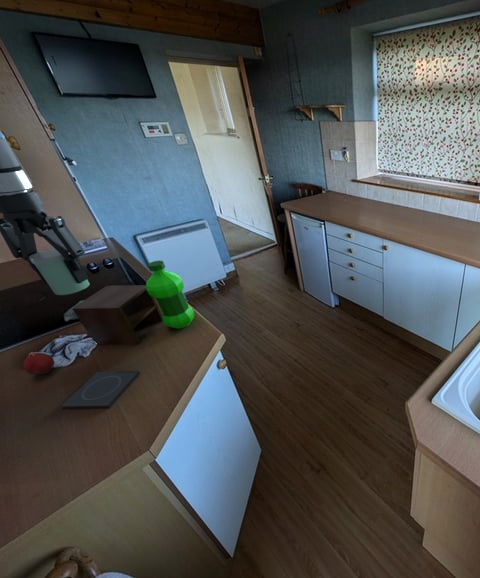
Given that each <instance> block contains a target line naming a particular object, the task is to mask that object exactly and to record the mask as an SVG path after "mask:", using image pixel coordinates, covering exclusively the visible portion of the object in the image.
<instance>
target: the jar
mask: <svg viewBox="0 0 480 578" xmlns="http://www.w3.org/2000/svg"><path fill="white" fill-rule="evenodd" d="M69 254H70V253H69ZM29 259H30V260H31V262H32V263H33V264H35V266H36V267H37V269H38V270H39V272H40V273H41V275H42V276H43V278H44V279H45V281H46V282H47V283H48V284H47V286H49V288H50V290H51V291H52V292H53V294H54V295H56V296H67V295H72V294H75V293H78V292H81V291H83V290H85V289H87V288H88V287H89V286H90V285H91V284H90V282H89V279H87V280H85V281H83V282H82V283H77V282H76V281H75V279H74V278H73V276H72V274H71V273H70V271H69V269H68V268H67V266H66V265H65V263H64V260H65V259H66V258H64V257H63V256H62V255H61V254H60V253H59V252H58V251H57V250H56V249H55V248H54V247H52V248H48V249H44V250H42V251H37V253H35V254H33V255H31V256H30V257H29Z"/></svg>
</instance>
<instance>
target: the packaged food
mask: <svg viewBox="0 0 480 578" xmlns="http://www.w3.org/2000/svg"><path fill="white" fill-rule="evenodd" d="M84 300H85V299H83V300H80V301H78V303H76V304H75V305H74V306H72V307H71V308H69V309H68V310H67V311H66V312H65V313H64V314H63V319H64V321H65V322H69V321H70V320H79V318H78V317H77V315H76V314H75V312H74V311H73V309H72V308H74V307H75V306H77V305H78V304H80V303H81V302H83V301H84Z"/></svg>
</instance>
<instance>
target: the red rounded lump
mask: <svg viewBox="0 0 480 578" xmlns="http://www.w3.org/2000/svg"><path fill="white" fill-rule="evenodd" d="M54 365H55V360H54V357H53V356H51V355H50V354H48V353H44V352H30V353H29V354H28V355H27V357H26V358H25V359H24V361H23V363H22V366H23V369H24V371H25V372H27V373H28V374H32V375H46V374H48V373H49V372H50V371H51V370H52V368H53V367H54Z"/></svg>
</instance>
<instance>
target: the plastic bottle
mask: <svg viewBox="0 0 480 578" xmlns="http://www.w3.org/2000/svg"><path fill="white" fill-rule="evenodd" d="M147 267H148V269H149V271H150V272H152V275H151V276H149V278H148V280H147V281H146V282H145V285H146V288H147V292H148V294H149V295H150V296H151V297H154V299H155V300H156V303H157V305H158V307H159V309H160V311H161V314H162V318H163V321H162V322H163V324H164V325H165V326H166V327H169V328H173V329H179V330H180V329H184V328H186V327H188V326H189V325H190V324H191V322H192V321H193V320H194V319H195V311H194V310H193V307H192V306H190V305H189V304H188V302H187V300H186V297H185V295H184V292H183V290H184V289H185V284H184V282H183V278H182V277H181V276H180V275H179V274H177V273H175V272H171V271H168V270H165V268H166V265H165V263H164V261H163V260H154V261H151V262H149V263H148V264H147Z"/></svg>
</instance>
